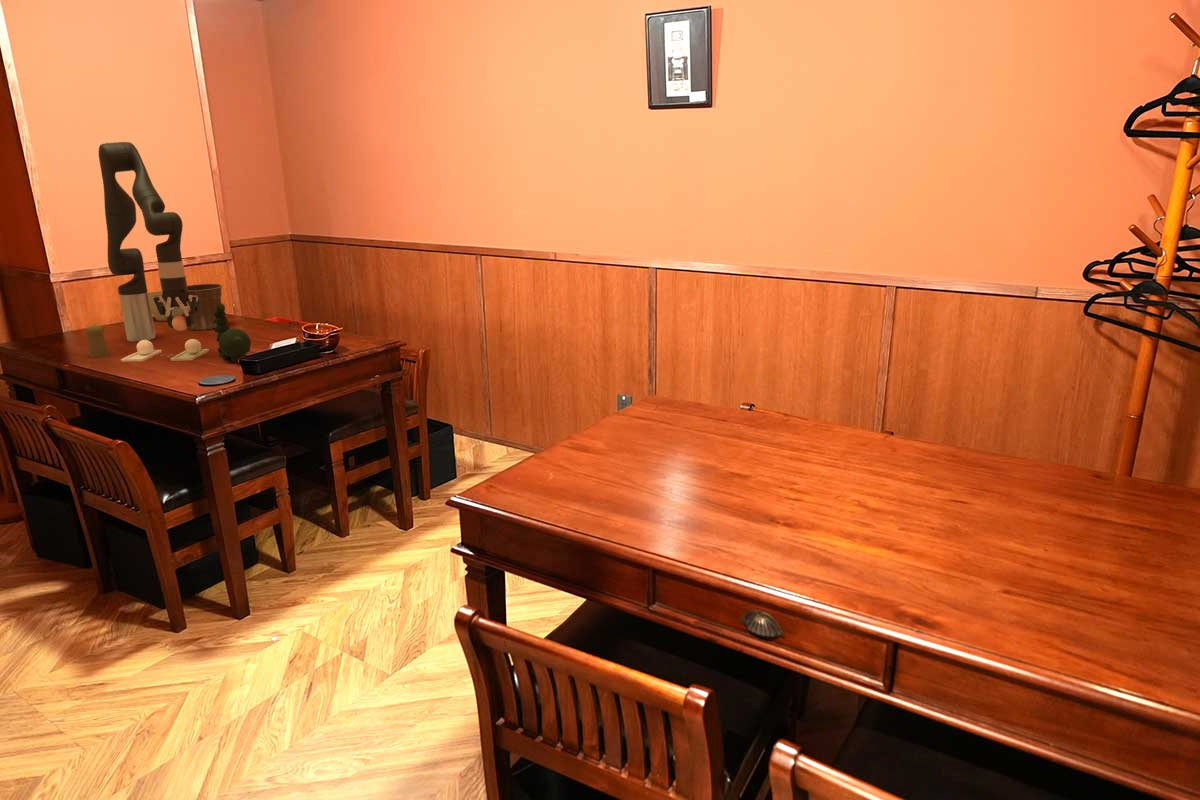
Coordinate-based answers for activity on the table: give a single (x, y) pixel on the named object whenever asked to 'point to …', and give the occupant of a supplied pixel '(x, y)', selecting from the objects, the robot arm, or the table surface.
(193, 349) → the ball
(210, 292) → the plant pot
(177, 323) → the ball
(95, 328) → the olive green waisted cylinder
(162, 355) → the card
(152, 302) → the planter bowl
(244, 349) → the toy figurine
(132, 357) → the egg tray
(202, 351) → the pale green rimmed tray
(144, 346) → the ball
